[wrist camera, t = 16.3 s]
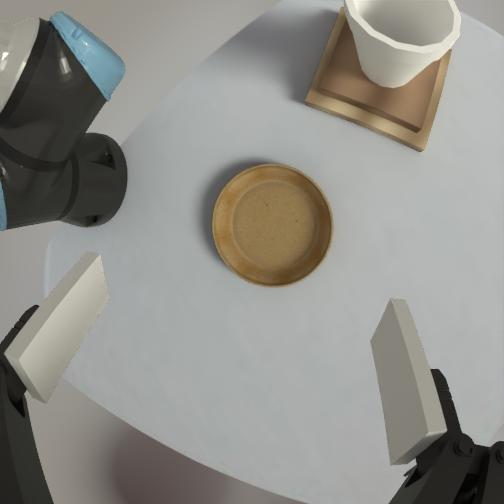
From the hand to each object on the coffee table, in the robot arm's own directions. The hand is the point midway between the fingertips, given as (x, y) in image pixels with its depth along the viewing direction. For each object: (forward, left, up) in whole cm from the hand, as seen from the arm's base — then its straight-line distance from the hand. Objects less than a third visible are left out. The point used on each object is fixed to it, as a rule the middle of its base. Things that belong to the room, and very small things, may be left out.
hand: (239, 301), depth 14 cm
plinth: (+2, +22, -26) cm, 35 cm away
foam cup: (+2, +22, -22) cm, 31 cm away
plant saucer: (-4, -1, -27) cm, 27 cm away
